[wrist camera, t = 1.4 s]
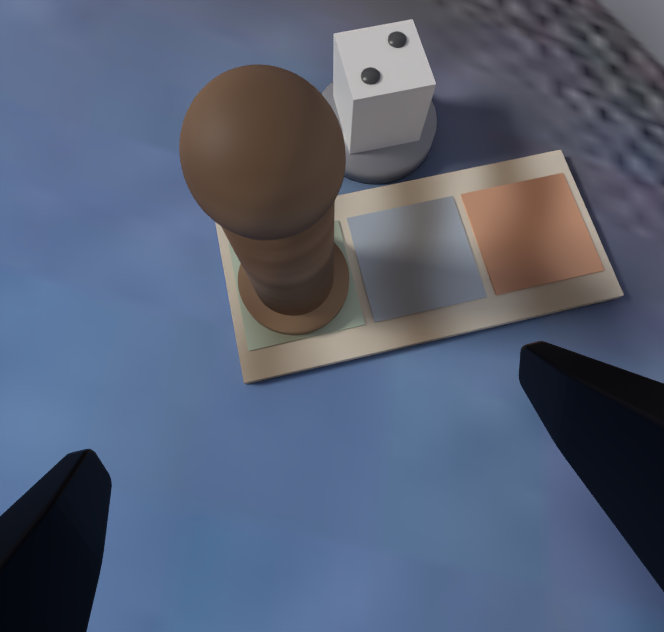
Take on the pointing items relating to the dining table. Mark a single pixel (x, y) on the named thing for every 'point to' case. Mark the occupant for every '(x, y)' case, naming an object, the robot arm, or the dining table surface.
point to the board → (442, 264)
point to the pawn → (271, 190)
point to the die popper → (382, 101)
